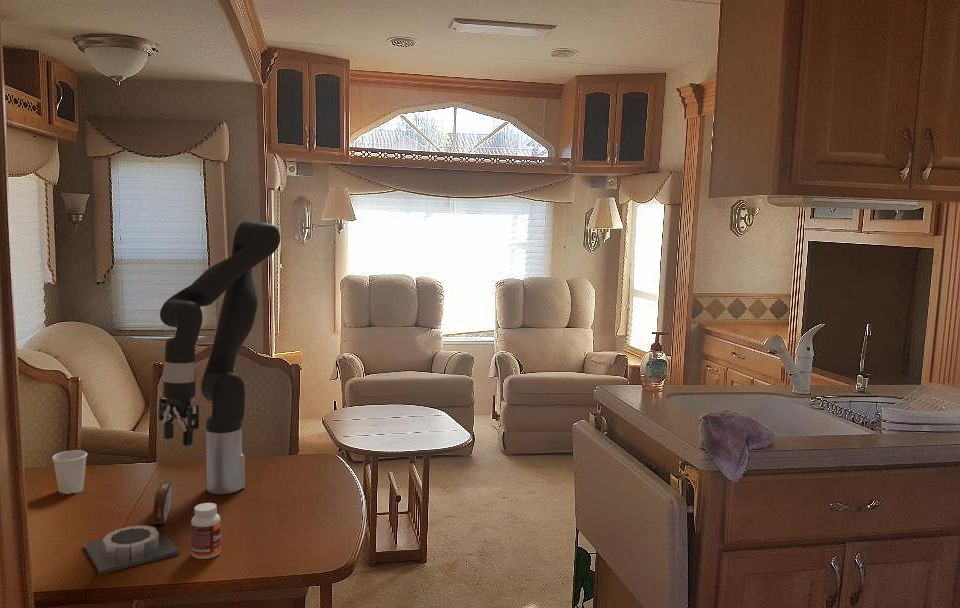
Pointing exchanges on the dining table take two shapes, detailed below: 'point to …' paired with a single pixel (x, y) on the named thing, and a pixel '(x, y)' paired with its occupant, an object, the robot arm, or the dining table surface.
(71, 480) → the dixie cup
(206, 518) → the pill bottle
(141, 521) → the dining table surface
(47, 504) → the dining table surface
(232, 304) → the robot arm
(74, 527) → the dining table surface
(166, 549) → the collar
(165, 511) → the tin
